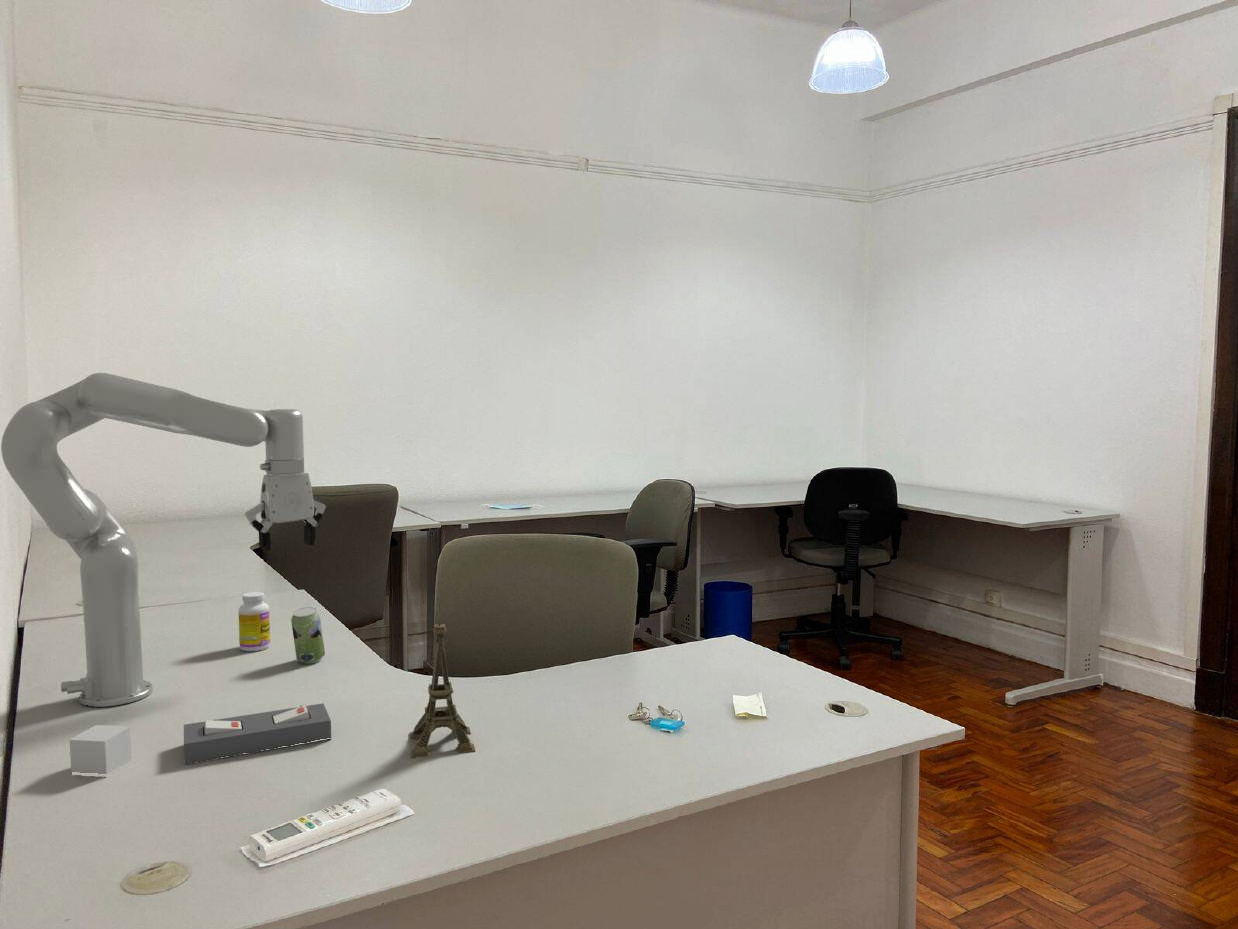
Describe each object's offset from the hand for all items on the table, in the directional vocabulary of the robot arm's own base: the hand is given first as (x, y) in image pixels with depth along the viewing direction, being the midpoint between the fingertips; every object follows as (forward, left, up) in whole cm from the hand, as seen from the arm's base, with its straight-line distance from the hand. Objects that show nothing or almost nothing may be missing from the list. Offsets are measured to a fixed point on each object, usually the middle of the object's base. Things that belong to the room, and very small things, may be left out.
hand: (287, 547), depth 188 cm
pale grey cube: (-33, -38, -27) cm, 57 cm away
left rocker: (-15, -38, -23) cm, 47 cm away
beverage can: (+4, +4, -27) cm, 28 cm away
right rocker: (-4, -38, -23) cm, 45 cm away
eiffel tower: (+19, -52, -27) cm, 61 cm away
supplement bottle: (-6, +20, -27) cm, 34 cm away
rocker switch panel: (-9, -34, -27) cm, 44 cm away
